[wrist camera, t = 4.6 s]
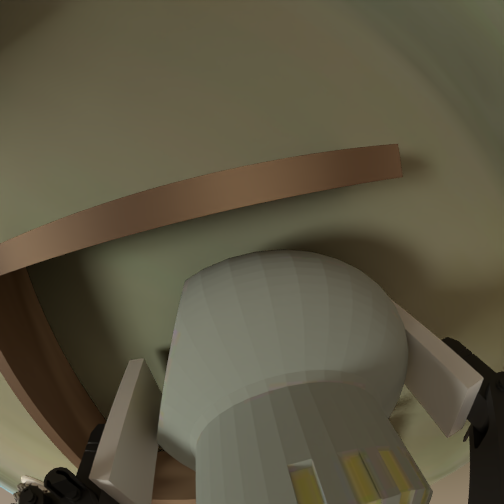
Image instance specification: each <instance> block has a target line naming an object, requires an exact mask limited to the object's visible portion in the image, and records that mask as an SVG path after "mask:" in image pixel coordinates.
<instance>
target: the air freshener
mask: <svg viewBox="0 0 504 504" xmlns="http://www.w3.org/2000/svg"><path fill="white" fill-rule="evenodd" d="M407 365H408V342H407V337H406V332H405V327H404V324H403V322H402V319H401V317H400V315H399V313H398V311H397V309H396V307H395V305H394V303H393V302H392V300H391V299H390V298H389V297H388V295H387V294H386V293H385V292H384V290H383V289H382V288H381V287H380V286H379V285H378V284H377V283H376V282H375V281H373V280H372V279H371V278H370V277H368V276H367V275H366V274H364V273H363V272H362V271H361V270H359V269H357V268H355V267H353V266H351V265H349V264H347V263H345V262H343V261H341V260H339V259H336V258H333V257H329V256H325V255H322V254H318V253H314V252H307V251H295V250H271V251H259V252H253V253H249V254H245V255H241V256H236V257H232V258H229V259H226V260H224V261H221V262H219V263H217V264H214V265H212V266H210V267H207V268H205V269H203V270H201V271H200V272H198V273H197V274H195V275H193V276H192V277H190V278H189V279H187V280H186V281H185V283H184V287H183V291H182V295H181V299H180V304H179V308H178V313H177V317H176V322H175V327H174V332H173V337H172V342H171V347H170V352H169V358H168V363H167V369H166V375H165V381H164V387H163V394H162V400H161V407H160V415H159V423H158V432H157V443H158V444H159V445H160V446H161V447H162V448H163V449H164V450H165V451H166V452H167V453H168V454H169V455H171V456H172V457H173V458H175V459H176V460H177V461H179V462H180V463H182V464H183V465H185V466H187V467H189V468H190V469H192V470H194V471H196V504H429V502H430V500H431V497H432V493H433V491H432V489H431V488H430V486H429V484H428V483H427V481H426V479H425V478H424V476H423V474H422V473H421V471H420V469H419V468H418V466H417V465H416V463H415V461H414V460H413V458H412V456H411V455H410V453H409V451H408V450H407V448H406V447H405V445H404V443H403V442H402V440H401V439H400V437H399V435H398V434H397V432H396V431H395V429H394V427H393V426H392V424H391V423H390V421H389V420H388V418H389V417H390V415H391V413H392V411H393V410H394V408H395V406H396V404H397V401H398V399H399V397H400V394H401V391H402V388H403V385H404V382H405V378H406V373H407Z"/></svg>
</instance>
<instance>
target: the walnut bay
mask: <svg viewBox="0 0 504 504" xmlns="http://www.w3.org/2000/svg"><path fill="white" fill-rule="evenodd" d="M399 177H403V175H402V167H401V160H400V154H399V148H398V144H389V145H379V146H369V147H360V148H351V149H343V150H335V151H328V152H321V153H314V154H308V155H302V156H296V157H290V158H284V159H278V160H273V161H267V162H262V163H257V164H252V165H247V166H242V167H238V168H233V169H228V170H224V171H219V172H215V173H211V174H206V175H202V176H198V177H194V178H190V179H186V180H182V181H178V182H175V183H171V184H167V185H163V186H160V187H156V188H153V189H149V190H146V191H142V192H139V193H136V194H132V195H129V196H126V197H122V198H119V199H116V200H113V201H110V202H107V203H104V204H101V205H98V206H95V207H92V208H89V209H86V210H83V211H80V212H77V213H75V214H72V215H69V216H66V217H64V218H61V219H58V220H56V221H53V222H51V223H48V224H45V225H43V226H40V227H38V228H35V229H33V230H30V231H28V232H26V233H23V234H21V235H19V236H16V237H14V238H12V239H9V240H7V241H5V242H3V243H0V371H1V373H2V375H3V376H4V378H5V380H6V381H7V383H8V384H9V386H10V387H11V389H12V390H13V392H14V393H15V395H16V396H17V398H18V399H19V401H20V402H21V403H22V405H23V406H24V408H25V409H26V410H27V412H28V413H29V414H30V416H31V417H32V418H33V419H34V421H35V422H36V423H37V424H38V426H39V427H40V428H41V429H42V431H43V432H44V433H45V434H46V435H47V436H48V438H49V439H50V440H51V441H52V442H53V443H54V444H55V446H56V447H57V448H58V449H59V450H60V451H61V452H62V453H63V454H64V455H65V456H66V457H67V458H68V459H69V460H70V461H71V462H72V463H73V464H74V465H75V466H76V467H77V468H78V469H79V465H80V462H81V460H82V457H83V454H84V452H85V448H86V445H87V444H88V439H89V437H90V434H91V432H92V431H93V430H94V428H95V427H96V426H97V425H98V424H106V422H107V421H106V420H105V419H104V417H103V416H102V414H101V413H100V412H99V410H98V409H97V407H96V406H95V404H94V403H93V402H92V400H91V399H90V397H89V395H88V394H87V392H86V391H85V389H84V388H83V386H82V385H81V383H80V381H79V380H78V378H77V376H76V375H75V373H74V371H73V370H72V368H71V366H70V364H69V363H68V361H67V359H66V357H65V355H64V353H63V352H62V350H61V348H60V346H59V344H58V342H57V340H56V338H55V336H54V334H53V332H52V330H51V328H50V326H49V324H48V321H47V319H46V317H45V315H44V313H43V310H42V308H41V306H40V303H39V301H38V298H37V296H36V294H35V291H34V288H33V286H32V283H31V281H30V278H29V275H28V272H27V269H26V266H29V265H32V264H35V263H38V262H41V261H45V260H48V259H51V258H54V257H57V256H60V255H63V254H67V253H70V252H73V251H76V250H80V249H83V248H86V247H90V246H93V245H96V244H100V243H103V242H107V241H110V240H114V239H117V238H121V237H124V236H128V235H132V234H135V233H139V232H143V231H146V230H150V229H154V228H158V227H162V226H166V225H169V224H173V223H177V222H181V221H185V220H189V219H193V218H197V217H202V216H206V215H210V214H214V213H218V212H223V211H227V210H231V209H236V208H240V207H245V206H249V205H254V204H258V203H263V202H268V201H272V200H277V199H282V198H287V197H292V196H297V195H302V194H307V193H312V192H317V191H322V190H328V189H333V188H339V187H344V186H350V185H356V184H361V183H367V182H373V181H380V180H386V179H392V178H399ZM151 504H196V471H194V470H192V469H190V468H189V467H187V466H185V465H183V464H182V463H180V462H179V461H177V460H176V459H175V458H173V457H172V456H171V455H169V454H168V453H167V452H166V451H162V452H157V459H156V466H155V474H154V483H153V491H152V501H151Z"/></svg>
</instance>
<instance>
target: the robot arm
mask: <svg viewBox="0 0 504 504" xmlns="http://www.w3.org/2000/svg"><path fill="white" fill-rule="evenodd" d="M391 300H392V299H391ZM392 302H393V303H394V305H395V307H396V309H397V311H398V313H399V315H400V317H401V319H402V322H403V324H404V327H405V332H406V337H407V342H408V365H407V373H406V378H405V382H404V384H405V385H406V386H407V388H408V389H409V390H410V391H411V393H412V394H413V395H414V396H415V398H416V399H417V400H418V401H419V402H420V404H421V405H422V406H423V408H424V409H425V410H426V411H427V413H428V414H429V415H430V416H431V418H432V419H433V420H434V421H435V423H436V424H437V425H438V427H439V428H440V429H441V430H442V432H443V433H444V434H445V436H446V437H447V438H448V437H450V436H451V435H453V434H454V433H456V432H457V431H459V430H460V429H462V428H463V426H464V424H465V422H466V419H468V420H469V422H470V423H471V425H470V427H469V428H468V430H467V432H466V434H465V436H464V440H463V442H464V441H466V440H467V438H468V436H469V441H470V484H469V499H468V504H504V372H499V373H496V372H494V371H493V370H492V369H491V368H490V367H488V366H487V365H486V364H485V363H484V362H483V361H481V360H480V359H479V358H478V357H477V356H475V355H474V354H472V352H471V351H469V350H468V349H466V347H465V346H463V345H462V344H461V343H460V342H459V341H457V340H454V339H451V338H449V337H446V338H445V339H443V340H440V339H439V338H438V337H437V336H435V335H434V334H433V333H432V332H431V331H430V330H428V329H427V328H426V327H425V326H424V325H422V324H421V323H420V322H419V321H417V320H416V319H415V318H414V317H413V316H411V315H410V314H409V313H408V312H406V311H405V310H404V309H403V308H402V307H400V306H399V305H398V304H397V303H395V302H394V301H393V300H392ZM161 400H162V393H161V391H160V389H159V387H158V385H157V383H156V381H155V379H154V377H153V375H152V373H151V371H150V369H149V367H148V365H147V363H146V361H145V359H144V358H142V359H135V360H129V363H128V365H127V368H126V370H125V373H124V375H123V378H122V381H121V383H120V386H119V388H118V391H117V394H116V397H115V399H114V402H113V405H112V408H111V410H110V413H109V416H108V419H107V422H106V424H98V425H97V426H96V427H95V428H94V430H93V431H92V432H91V434H90V437H89V439H88V444H87V445H86V448H85V452H84V454H83V457H82V460H81V462H80V465H79V469H78V472H77V475H76V476H75V475H74V474H73V473H72V472H71V471H69V470H68V469H67V468H63V467H59V468H54V469H53V470H51V471H50V472H49V473H48V474H47V475H46V477H45V479H44V487H45V488H46V489H47V490H49V491H50V492H48V493H44V492H43V491H42V490H41V489H40V488H38V487H37V486H33V485H31V486H27V487H26V488H24V489H23V490H22V492H21V493H20V497H19V504H151V501H152V491H153V483H154V474H155V466H156V459H157V451H158V443H157V432H158V423H159V415H160V407H161Z"/></svg>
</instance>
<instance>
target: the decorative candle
mask: <svg viewBox="0 0 504 504" xmlns="http://www.w3.org/2000/svg"><path fill="white" fill-rule="evenodd" d="M21 481H22V483H20V484H19V485H17V488H18V491H19V492H16V493H14V494H13V496H14V498H15V500H16V502H17V503H16V504H19V497H20V493H21V492H22V490H23V489H24V488H26V487H27V486H31V485H33V486H37V487H38V488H40V489H41V490H42V491H43V492H44V493H48V492H50V491H49V490H47V489H46V488H45V487H44V482H42V481H39V480H37V479H35V478H32V477H29V476H22V477H21ZM13 504H14V503H13Z"/></svg>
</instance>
